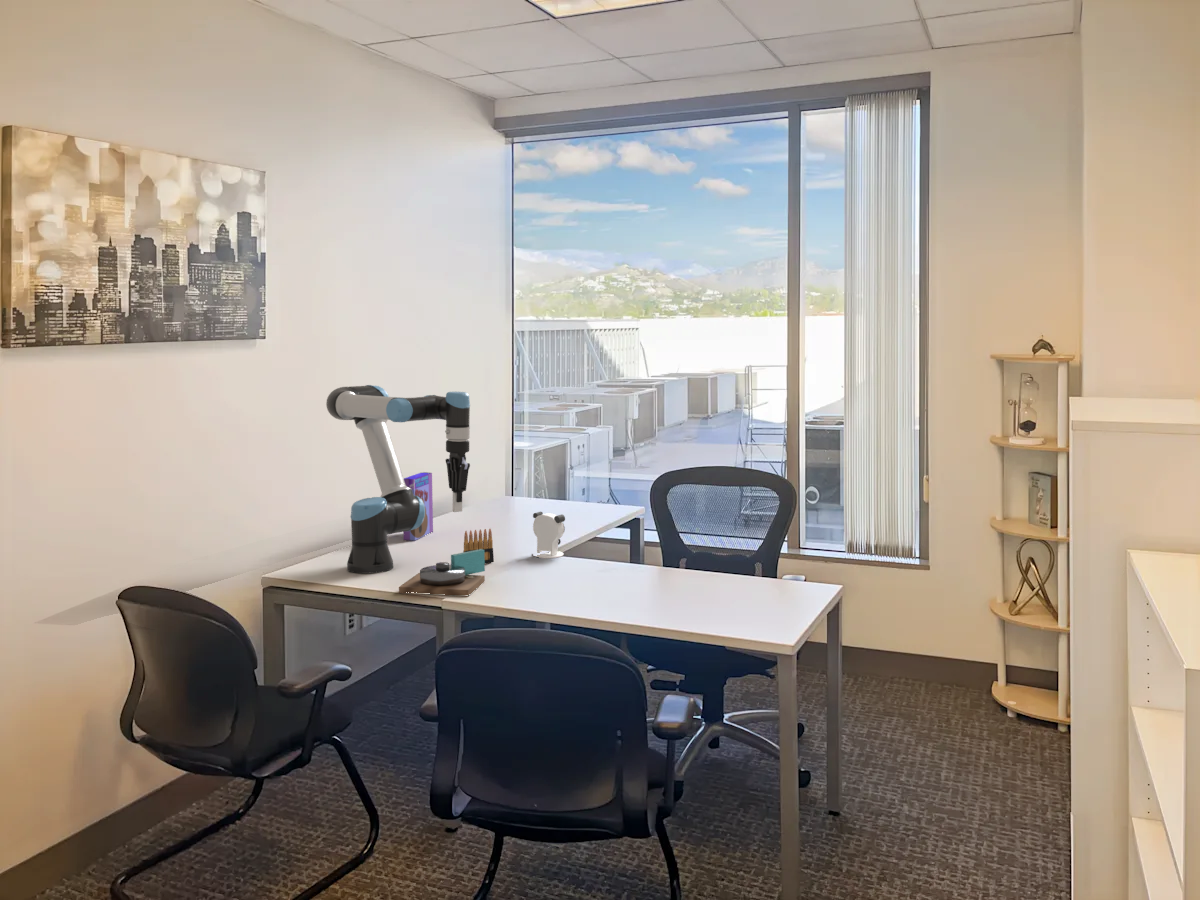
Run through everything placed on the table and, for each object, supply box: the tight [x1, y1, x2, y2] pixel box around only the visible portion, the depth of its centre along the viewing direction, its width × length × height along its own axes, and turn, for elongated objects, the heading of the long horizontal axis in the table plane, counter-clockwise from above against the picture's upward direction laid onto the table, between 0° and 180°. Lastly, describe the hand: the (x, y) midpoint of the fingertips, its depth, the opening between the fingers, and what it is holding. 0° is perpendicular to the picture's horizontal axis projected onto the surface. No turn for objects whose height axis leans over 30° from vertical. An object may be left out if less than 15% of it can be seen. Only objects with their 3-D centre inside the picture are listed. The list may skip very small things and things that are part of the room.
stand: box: [398, 572, 486, 596], centre depth 314 cm, size 22×18×2 cm
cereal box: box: [402, 471, 434, 542], centre depth 390 cm, size 17×5×24 cm, turn 167°
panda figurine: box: [532, 511, 566, 559], centre depth 358 cm, size 12×11×15 cm
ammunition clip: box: [462, 528, 495, 564], centre depth 345 cm, size 11×2×12 cm, turn 118°
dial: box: [419, 549, 486, 585], centre depth 316 cm, size 23×14×7 cm, turn 135°
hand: (457, 511), depth 327 cm, fingers closed
